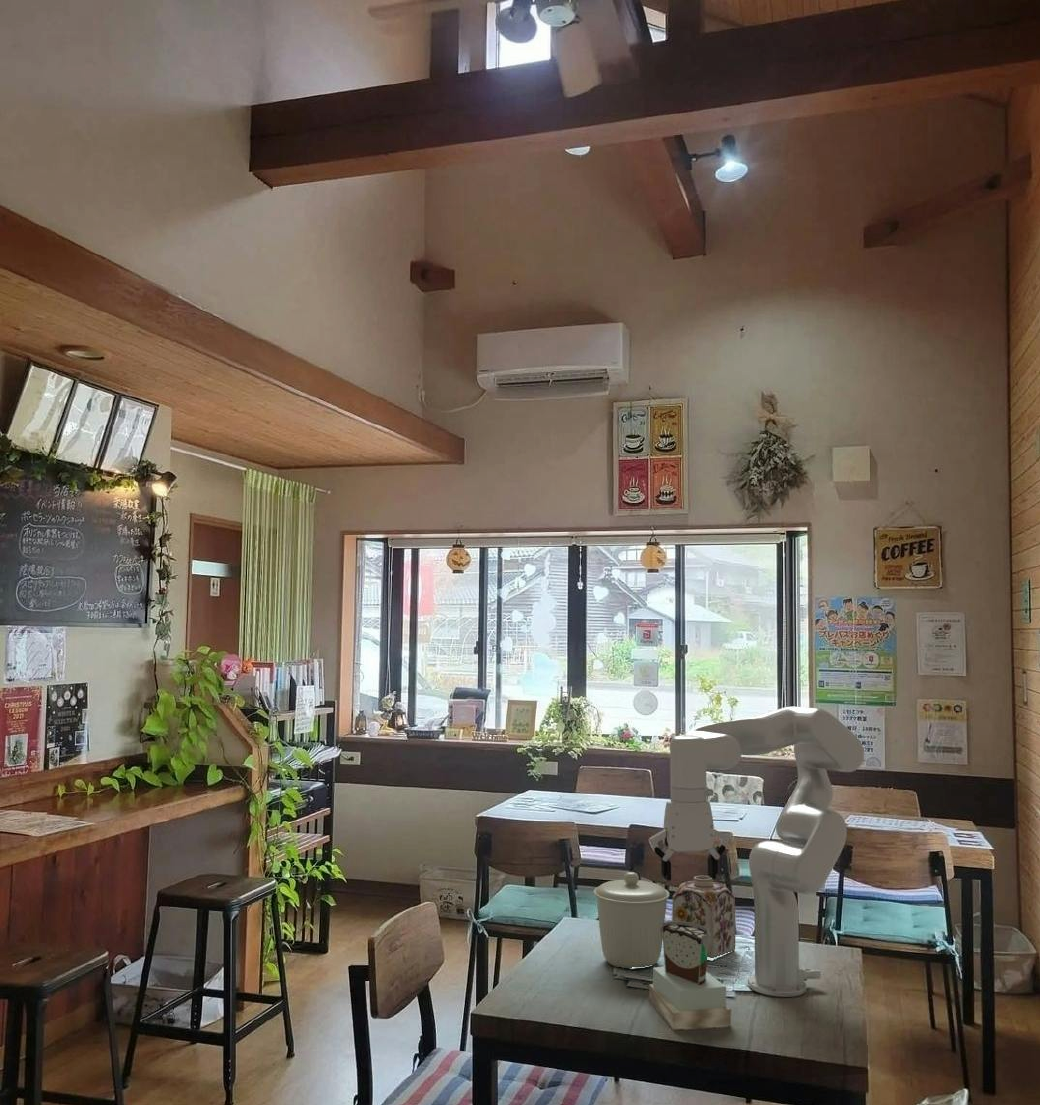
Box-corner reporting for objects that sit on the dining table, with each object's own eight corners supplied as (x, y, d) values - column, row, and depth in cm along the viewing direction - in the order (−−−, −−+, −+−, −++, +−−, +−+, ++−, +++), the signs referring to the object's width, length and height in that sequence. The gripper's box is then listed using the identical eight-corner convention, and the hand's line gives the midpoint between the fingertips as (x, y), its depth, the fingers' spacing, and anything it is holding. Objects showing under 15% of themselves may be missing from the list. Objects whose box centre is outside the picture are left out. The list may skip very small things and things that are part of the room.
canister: (579, 957, 237) (579, 868, 239) (640, 946, 246) (640, 860, 248) (621, 981, 221) (621, 885, 223) (685, 968, 230) (684, 876, 232)
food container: (724, 981, 201) (724, 931, 202) (704, 987, 197) (704, 936, 198) (680, 965, 211) (680, 917, 212) (660, 970, 207) (659, 922, 208)
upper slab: (696, 983, 211) (696, 964, 212) (726, 1007, 198) (726, 986, 198) (653, 987, 209) (653, 967, 209) (680, 1011, 195) (680, 991, 195)
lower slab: (702, 1000, 212) (702, 981, 212) (730, 1030, 196) (730, 1009, 196) (649, 1003, 210) (649, 984, 210) (673, 1033, 194) (673, 1013, 194)
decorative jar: (712, 963, 234) (712, 885, 236) (670, 952, 242) (670, 877, 243) (737, 951, 243) (736, 876, 245) (696, 941, 251) (695, 869, 252)
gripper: (722, 791, 211) (723, 872, 210) (643, 793, 209) (644, 875, 207) (734, 797, 204) (735, 881, 203) (653, 799, 201) (654, 884, 200)
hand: (689, 878), depth 205 cm, fingers open, 9 cm apart
